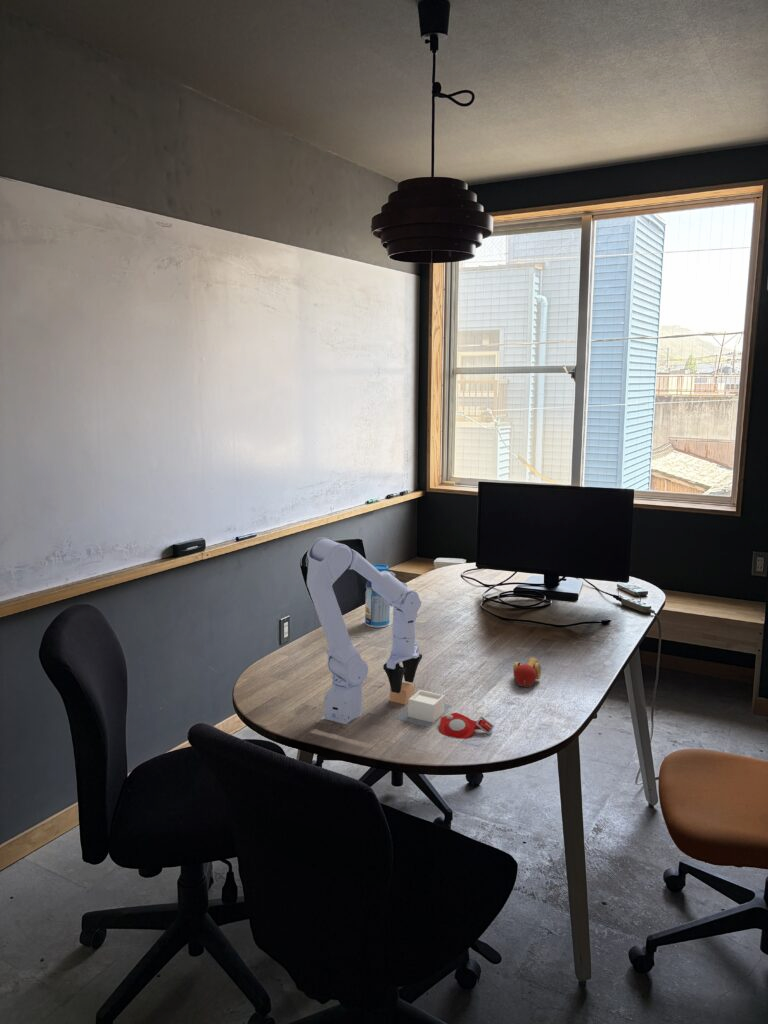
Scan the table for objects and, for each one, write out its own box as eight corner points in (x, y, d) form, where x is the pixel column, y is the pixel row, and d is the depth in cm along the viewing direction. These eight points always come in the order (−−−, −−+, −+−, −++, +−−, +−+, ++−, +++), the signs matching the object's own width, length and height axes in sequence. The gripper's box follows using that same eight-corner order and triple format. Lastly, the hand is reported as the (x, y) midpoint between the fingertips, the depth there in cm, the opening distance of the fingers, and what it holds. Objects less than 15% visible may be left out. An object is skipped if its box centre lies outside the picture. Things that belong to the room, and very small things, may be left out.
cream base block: (433, 722, 179) (433, 705, 178) (408, 716, 182) (408, 699, 181) (444, 712, 185) (444, 695, 184) (419, 706, 188) (420, 689, 187)
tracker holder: (449, 742, 169) (430, 714, 178) (450, 756, 171) (431, 728, 180) (497, 723, 173) (476, 697, 181) (497, 738, 175) (477, 711, 183)
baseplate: (429, 730, 177) (429, 727, 177) (394, 721, 181) (394, 718, 181) (452, 708, 189) (452, 705, 189) (419, 701, 193) (419, 698, 193)
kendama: (516, 669, 221) (506, 683, 204) (521, 649, 220) (512, 661, 203) (542, 678, 218) (534, 692, 201) (548, 657, 218) (540, 670, 201)
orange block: (405, 708, 189) (406, 690, 188) (389, 704, 191) (389, 687, 190) (413, 701, 193) (414, 684, 192) (397, 697, 195) (398, 681, 194)
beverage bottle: (381, 630, 249) (382, 570, 245) (359, 625, 253) (360, 566, 250) (394, 623, 256) (396, 565, 252) (373, 619, 260) (374, 562, 257)
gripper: (405, 646, 181) (404, 700, 183) (430, 629, 194) (428, 680, 196) (379, 641, 184) (378, 694, 186) (405, 625, 197) (404, 674, 199)
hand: (402, 686), depth 191 cm, fingers open, 7 cm apart
